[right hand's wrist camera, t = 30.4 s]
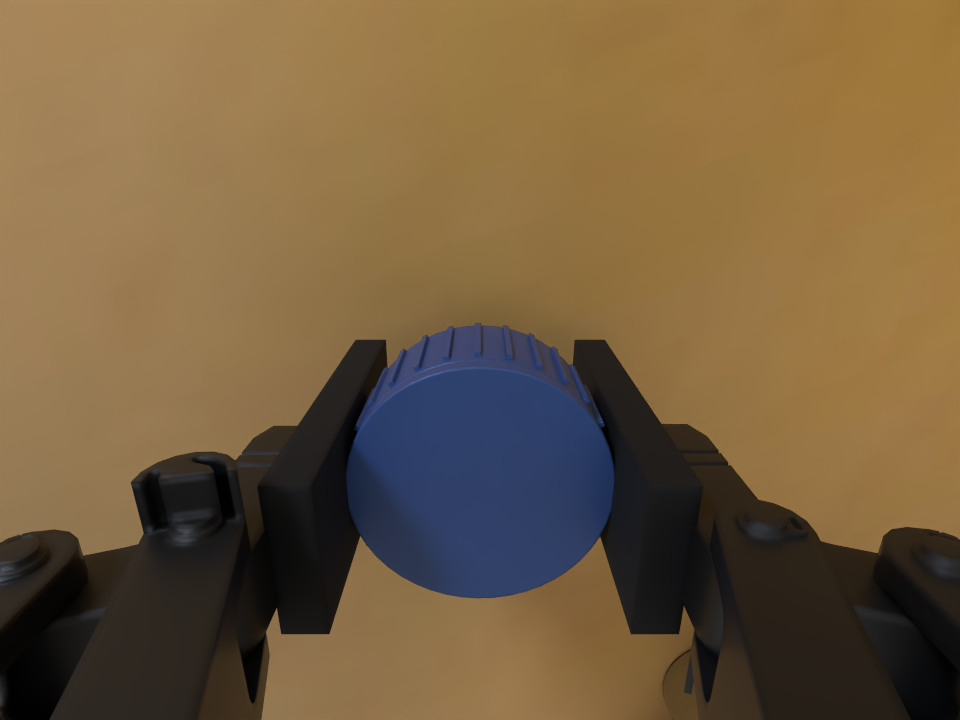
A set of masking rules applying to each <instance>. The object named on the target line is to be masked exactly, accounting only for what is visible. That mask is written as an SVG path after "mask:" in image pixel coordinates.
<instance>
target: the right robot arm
mask: <svg viewBox="0 0 960 720" xmlns="http://www.w3.org/2000/svg"><path fill="white" fill-rule="evenodd" d="M573 365H574V366H575V368H576V370H577V373H578V375H579V377H580V379H581V381H582V384H583V385H587V387H588V389H589V392H590V394H591V396H592V398H593V400H594V402H595V405H596V407H597V409H598V411H599V413H600V415H601V418H602V420H603V422H604V424H605V426H604V427H602V428H601V429H602V431H603V433H604V436H605V438H606V440H607V442H608V445H609V447H610V450H611V454H612V458H613V462H614V468H615V476H614V487H613V497H612V506H611V513H610V515H609V518H608V521H607V524H606V526H605V528H604V529H603V531H602V533H601V535H600V537H601V540H602V543H603V547H604V550H605V553H606V556H607V559H608V562H609V566H610V569H611V572H612V575H613V578H614V581H615V585H616V588H617V591H618V594H619V597H620V600H621V604H622V607H623V610H624V613H625V616H626V620H627V623H628V626H629V629H630V632H631V634H679V631H680V625H681V619H682V613H683V607H685V609H686V611H687V613H688V616H689V618H690V620H691V622H692V624H693V627H694V629H695V630H694V635H693V641H692V646H691V652H690V658H689V663H688V669H687V675H686V680H685V688H684V693H688V694H692V689H693V684H694V686H695V694H696V701H697V709H698V716H699V720H960V540H959V539H958V538H956V537H954V536H952V535H949V534H946V533H943V532H942V533H939V531H935V530H930V529H920V528H911V527H904V528H898V529H892V530H890V531H889V532H888V533H887V534H885V535H884V536H883V539H882V542H881V545H880V549H879V552H878V553H873V552H868V551H863V550H858V549H853V548H848V547H843V546H838V545H833V544H829V543H825V542H821V541H820V539H819V537H818V535H817V533H816V532H815V531H814V529H813V528H812V527H811V526H810V525H809V523H808V522H807V521H806V520H804V519H803V518H801V517H800V516H798V515H797V514H795V513H794V512H793V511H791V510H788V509H786V508H784V507H781V506H779V505H776V504H774V503H770V502H766V501H761V500H758V499H757V498H756V496H755V495H754V494H753V493H752V491H751V490H750V489H749V488H748V486H747V485H746V484H745V483H744V481H743V480H742V479H741V478H740V476H739V475H738V474H737V473H736V472H735V470H734V469H733V468H732V467H731V465H728V462H727V460H726V459H725V458H724V457H723V455H722V454H721V453H719V452H718V449H717V448H716V447H715V446H714V444H713V443H712V442H711V441H710V439H709V438H708V437H707V436H706V435H704V434H702V433H701V432H699V431H697V430H696V429H694V428H693V427H691V426H689V425H688V424H661V423H660V421H659V420H658V418H657V417H656V415H655V414H654V412H653V411H652V409H651V408H650V406H649V405H648V403H647V402H646V400H645V399H644V398H643V396H642V395H641V393H640V392H639V390H638V389H637V387H636V386H635V384H634V383H633V381H632V380H631V378H630V377H629V375H628V374H627V372H626V371H625V369H624V368H623V366H622V365H621V363H620V362H619V360H618V359H617V357H616V356H615V355H614V353H613V352H612V350H611V349H610V347H609V346H608V344H607V343H606V341H605V340H575V342H574V358H573ZM385 367H387V353H386V340H355V342H354V343H353V345H352V346H351V348H350V349H349V351H348V352H347V354H346V355H345V357H344V358H343V359H342V361H341V362H340V364H339V365H338V367H337V368H336V370H335V371H334V373H333V374H332V376H331V377H330V379H329V380H328V382H327V383H326V385H325V386H324V388H323V389H322V391H321V392H320V394H319V395H318V397H317V398H316V400H315V401H314V402H313V404H312V405H311V407H310V408H309V410H308V411H307V413H306V414H305V416H304V417H303V419H302V420H301V422H300V423H299V425H298V426H273V427H271V428H269V429H268V430H266V431H265V432H263V433H261V434H260V435H258V436H256V437H255V438H253V440H252V441H251V442H250V443H249V445H248V446H247V447H246V448H245V450H244V451H243V452H242V455H240V456H239V457H238V458H237V460H236V461H235V460H234V459H232V458H231V457H230V456H228V455H226V454H222V453H217V452H194V453H189V454H184V455H178V456H175V457H172V458H169V459H166V460H163V461H161V462H158V463H156V464H154V465H152V466H151V467H149V468H147V469H145V470H144V471H142V472H141V473H140V474H139V475H138V476H137V477H136V478H135V479H134V480H133V481H132V482H131V485H132V489H133V493H134V496H135V500H136V504H137V508H138V512H139V516H140V520H141V524H142V527H143V531H144V534H143V536H142V538H141V540H140V542H139V544H137V545H133V546H130V547H125V548H120V549H115V550H110V551H105V552H100V553H95V554H90V555H85V556H83V554H82V550H81V547H80V544H79V541H78V538H77V537H75V536H74V535H73V534H72V533H70V532H67V531H60V530H46V531H37V532H30V533H25V534H22V535H21V536H20V535H17V536H14V537H11V538H8V539H6V540H5V541H3V542H1V543H0V720H261V718H262V710H263V703H264V695H265V687H266V680H267V672H268V665H269V657H270V655H269V647H268V641H267V635H266V630H267V628H268V626H269V624H270V621H271V619H272V617H273V615H274V613H275V610H276V608H277V611H278V617H279V623H280V629H281V634H329V633H330V630H331V627H332V624H333V621H334V617H335V614H336V611H337V608H338V605H339V602H340V598H341V595H342V592H343V589H344V586H345V583H346V579H347V576H348V573H349V570H350V567H351V563H352V560H353V557H354V554H355V551H356V548H357V544H358V541H359V538H360V534H359V533H358V530H357V528H356V526H355V524H354V522H353V520H352V517H351V514H350V511H349V503H348V493H347V483H346V466H347V459H348V456H349V453H350V450H351V446H352V443H353V441H354V439H355V437H356V435H357V432H358V431H356V430H354V428H355V425H356V423H357V421H358V419H359V417H360V415H361V412H362V410H363V408H364V406H365V404H366V402H367V399H368V397H369V395H370V393H371V391H372V389H373V388H375V387H376V385H377V383H378V381H379V378H380V376H381V374H382V372H383V370H384V368H385Z"/></svg>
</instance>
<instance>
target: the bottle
mask: <svg viewBox="0 0 960 720" xmlns="http://www.w3.org/2000/svg"><path fill="white" fill-rule="evenodd" d="M690 652H691V650H690V651H689V652H687V653H685V654H684V655H682V656H681V657H680V658H679V659H677V660H676V661H675V662H674V663H673V665H672V666H671V667H670V669H669V670H668V672H667V674H666V676H665V679H664V682H663V695H664V699H665V701H666V704H667V707H668V710H669V713H670V715H671V718H672V720H699V716H698V709H697V701H696V694H695V686H694V684H693V689H692V694H688V693H684V688H685V680H686V675H687V669H688V663H689V658H690Z"/></svg>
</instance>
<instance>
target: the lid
mask: <svg viewBox="0 0 960 720" xmlns="http://www.w3.org/2000/svg"><path fill="white" fill-rule="evenodd" d="M604 426H605V424H604V422H603V420H602V418H601V415H600V413H599V411H598V409H597V407H596V405H595V402H594V400H593V398H592V396H591V394H590V392H589V389H588V387H587V385H583V384H582V381H581V379H580V377H579V375H578V373H577V370H576V368H575V366H574V365H573V364H571V365H570V366H569V365H568V364H567V362H566V361H565V360H564V359H563V358H562V357H561V356H560V355H559V353H558V351H557V349H556V348H555V347H554V346H553V347H552V348H550V347H548V346H547V345H545V344H544V343H542V342H541V341H539V340H537V339H535V336H534V335H533V334H531V333H530V334H529V335H526V334H523V333H520V332H518V331H515V330H511V329H509V327H508V326H505V325H503V328H501V327H494V326H481V323H476V324H475V326H465V327H460V328H454V327H453V326H451V327H448V330H446V331H443V332H440V333H437V334H434V335H432V336H430V337H428V335H425V336H423V337H422V340H421V341H420V342H419V343H417V344H415V345H414V346H412V347H411V348H409V349H408V350H407V351H406V350H405V349H403V350H402V351H401V352H400V354H399V357H398V359H397V360H396V361H395V362H394V363H393V364H392V365H391V366H390V368H387V367H385V368H384V370H383V372H382V374H381V376H380V378H379V381H378V383H377V385H376V387H375V388H373V389H372V391H371V393H370V395H369V397H368V399H367V402H366V404H365V406H364V408H363V410H362V412H361V415H360V417H359V419H358V421H357V423H356V425H355V428H354V430H356V431H358V432H357V435H356V437H355V439H354V441H353V443H352V446H351V450H350V453H349V456H348V459H347V466H346V483H347V493H348V503H349V511H350V514H351V517H352V520H353V522H354V524H355V526H356V528H357V530H358V533H359V534H360V536H361V537H362V539H363V540H364V542H365V543H366V545H367V546H368V547H369V548H370V550H371V551H372V552H373V553H374V554H375V555H376V557H377V558H379V559H380V560H381V561H382V562H383V563H384V564H385V565H386V566H387V567H389V568H390V569H391V570H393V571H394V572H396V573H397V574H399V575H400V576H401V577H403V578H405V579H407V580H409V581H411V582H413V583H414V584H417V585H419V586H422V587H424V588H426V589H429V590H432V591H436V592H439V593H443V594H446V595H452V596H458V597H467V598H495V597H502V596H509V595H514V594H518V593H522V592H526V591H528V590H531V589H534V588H537V587H539V586H542V585H544V584H546V583H548V582H550V581H552V580H554V579H556V578H557V577H559V576H560V575H562V574H563V573H565V572H567V571H568V570H569V569H570V568H572V567H573V566H574V565H575V564H577V563H578V562H579V561H580V560H581V559H582V558H583V557H584V556H585V555H586V554H587V553H588V552H589V551H590V549H591V548H592V547H593V545H594V544H595V543H596V541H597V540H598V538H599V537H600V535H601V533H602V531H603V529H604V528H605V526H606V524H607V521H608V518H609V515H610V513H611V506H612V497H613V487H614V476H615V468H614V462H613V458H612V454H611V450H610V447H609V445H608V442H607V440H606V438H605V436H604V433H603V431H602V429H601V428H602V427H604Z"/></svg>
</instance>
